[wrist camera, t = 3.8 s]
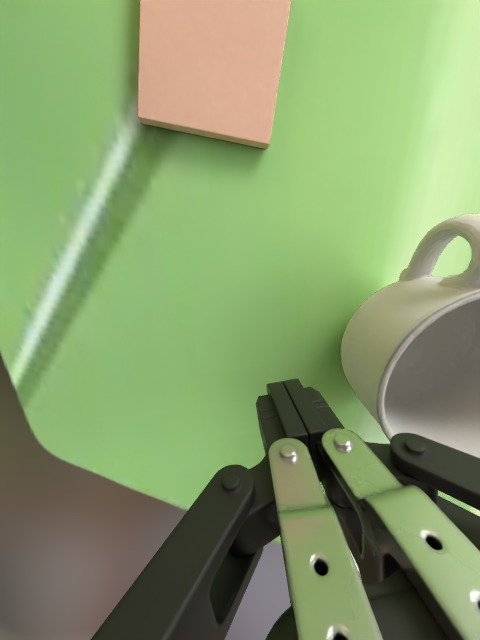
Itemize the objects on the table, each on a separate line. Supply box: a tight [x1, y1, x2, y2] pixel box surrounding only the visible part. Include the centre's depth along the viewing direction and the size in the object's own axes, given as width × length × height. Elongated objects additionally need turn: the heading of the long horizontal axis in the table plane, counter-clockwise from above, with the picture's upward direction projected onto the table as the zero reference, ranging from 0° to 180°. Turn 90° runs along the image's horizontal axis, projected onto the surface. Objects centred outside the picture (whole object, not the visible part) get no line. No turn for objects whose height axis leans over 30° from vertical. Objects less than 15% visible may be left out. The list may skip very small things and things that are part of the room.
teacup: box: [341, 214, 480, 458], centre depth 16 cm, size 14×11×8 cm
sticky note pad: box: [138, 0, 291, 149], centre depth 14 cm, size 8×8×1 cm
